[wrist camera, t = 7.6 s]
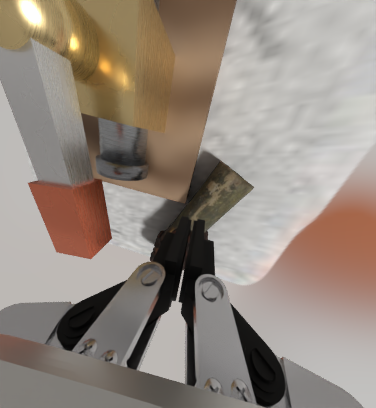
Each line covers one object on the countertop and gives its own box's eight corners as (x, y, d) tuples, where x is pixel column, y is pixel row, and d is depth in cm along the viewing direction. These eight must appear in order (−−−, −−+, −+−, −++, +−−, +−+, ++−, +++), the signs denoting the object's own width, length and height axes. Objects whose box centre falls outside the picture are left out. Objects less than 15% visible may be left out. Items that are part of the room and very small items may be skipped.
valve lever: (33, -5, 7) (-108, -122, 4) (93, -4, 6) (-8, -131, 3) (90, 225, 12) (52, 251, 10) (122, 231, 12) (94, 260, 9)
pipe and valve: (106, -46, 11) (-60, -347, 4) (188, -28, 11) (152, -316, 4) (110, 162, 18) (51, 173, 11) (159, 175, 18) (129, 195, 11)
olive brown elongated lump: (220, 157, 17) (225, 164, 12) (258, 190, 18) (278, 208, 13) (151, 240, 24) (136, 266, 19) (181, 260, 25) (175, 290, 20)
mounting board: (61, -148, 10) (37, -194, 9) (264, -109, 9) (273, -152, 8) (89, 172, 20) (81, 175, 19) (186, 199, 20) (185, 203, 18)
